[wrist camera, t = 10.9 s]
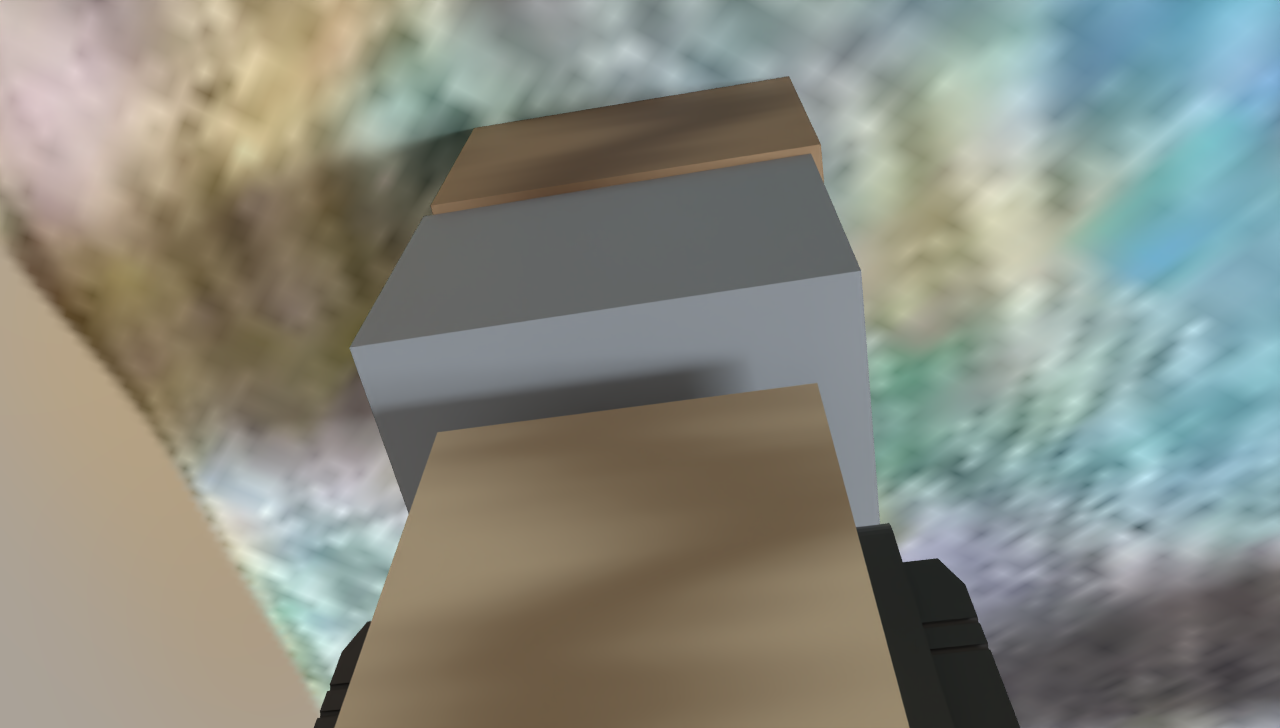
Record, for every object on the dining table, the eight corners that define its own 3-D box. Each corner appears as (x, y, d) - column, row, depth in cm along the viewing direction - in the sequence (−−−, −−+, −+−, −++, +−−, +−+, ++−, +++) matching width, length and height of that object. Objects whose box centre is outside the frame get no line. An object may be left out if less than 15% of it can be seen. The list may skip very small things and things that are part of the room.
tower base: (788, 75, 22) (820, 144, 17) (815, 354, 25) (848, 471, 21) (474, 127, 22) (430, 205, 18) (541, 392, 26) (518, 513, 21)
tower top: (811, 153, 18) (861, 270, 13) (841, 477, 21) (889, 656, 17) (423, 217, 18) (349, 347, 14) (513, 520, 22) (476, 703, 17)
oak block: (817, 382, 13) (924, 786, 8) (842, 664, 15) (937, 1117, 10) (437, 432, 13) (293, 844, 8) (520, 697, 16) (450, 1147, 10)
